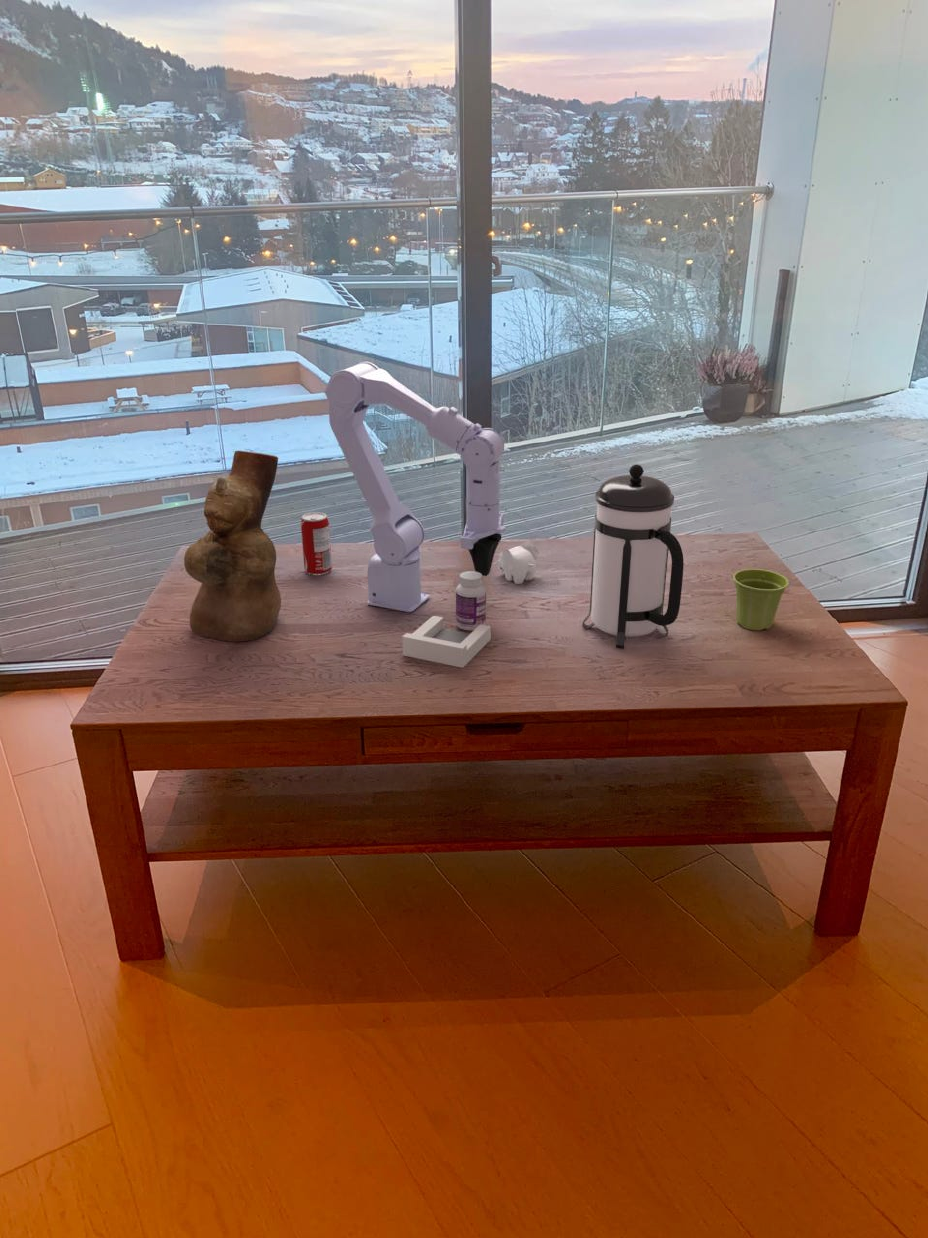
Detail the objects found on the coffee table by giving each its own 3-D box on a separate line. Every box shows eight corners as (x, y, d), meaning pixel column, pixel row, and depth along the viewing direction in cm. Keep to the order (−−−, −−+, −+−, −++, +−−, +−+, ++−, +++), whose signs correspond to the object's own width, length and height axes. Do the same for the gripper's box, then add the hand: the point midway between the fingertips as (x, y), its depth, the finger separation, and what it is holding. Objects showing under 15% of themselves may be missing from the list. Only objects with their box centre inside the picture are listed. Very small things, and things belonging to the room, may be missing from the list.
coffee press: (571, 645, 161) (579, 474, 148) (592, 609, 175) (601, 449, 162) (673, 661, 155) (691, 484, 143) (687, 622, 169) (704, 458, 156)
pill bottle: (482, 632, 166) (483, 581, 162) (453, 630, 167) (452, 579, 163) (488, 620, 171) (488, 570, 166) (459, 617, 172) (459, 568, 167)
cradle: (403, 655, 158) (402, 636, 156) (433, 628, 167) (433, 610, 166) (462, 667, 154) (462, 648, 152) (490, 639, 163) (490, 621, 162)
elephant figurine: (510, 566, 194) (510, 533, 191) (546, 578, 188) (547, 545, 185) (484, 576, 189) (485, 543, 186) (521, 589, 183) (521, 555, 180)
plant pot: (785, 618, 171) (792, 573, 167) (778, 639, 163) (784, 592, 159) (732, 609, 174) (738, 565, 171) (723, 629, 166) (728, 584, 163)
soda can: (309, 565, 195) (304, 509, 190) (335, 566, 195) (331, 510, 190) (301, 575, 190) (296, 518, 185) (327, 576, 190) (323, 519, 185)
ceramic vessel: (172, 633, 166) (147, 466, 154) (252, 590, 184) (236, 437, 171) (243, 652, 159) (223, 479, 147) (319, 605, 177) (307, 447, 164)
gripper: (487, 516, 156) (487, 592, 162) (519, 492, 168) (518, 563, 174) (449, 511, 159) (450, 585, 165) (483, 487, 171) (483, 558, 177)
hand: (482, 574), depth 170 cm, fingers closed
